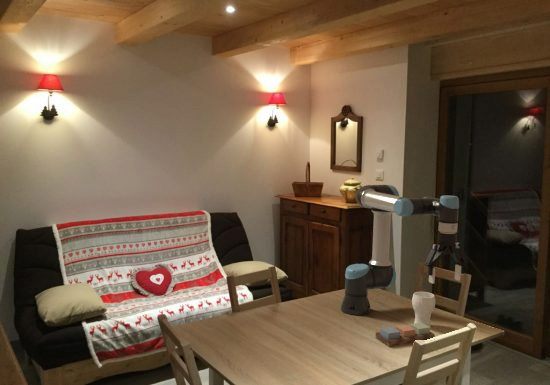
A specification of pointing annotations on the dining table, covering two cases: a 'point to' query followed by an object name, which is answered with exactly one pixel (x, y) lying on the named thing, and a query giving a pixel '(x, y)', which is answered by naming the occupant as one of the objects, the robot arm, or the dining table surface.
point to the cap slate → (389, 333)
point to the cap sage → (421, 328)
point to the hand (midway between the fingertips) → (444, 281)
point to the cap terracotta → (405, 330)
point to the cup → (423, 307)
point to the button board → (403, 339)
